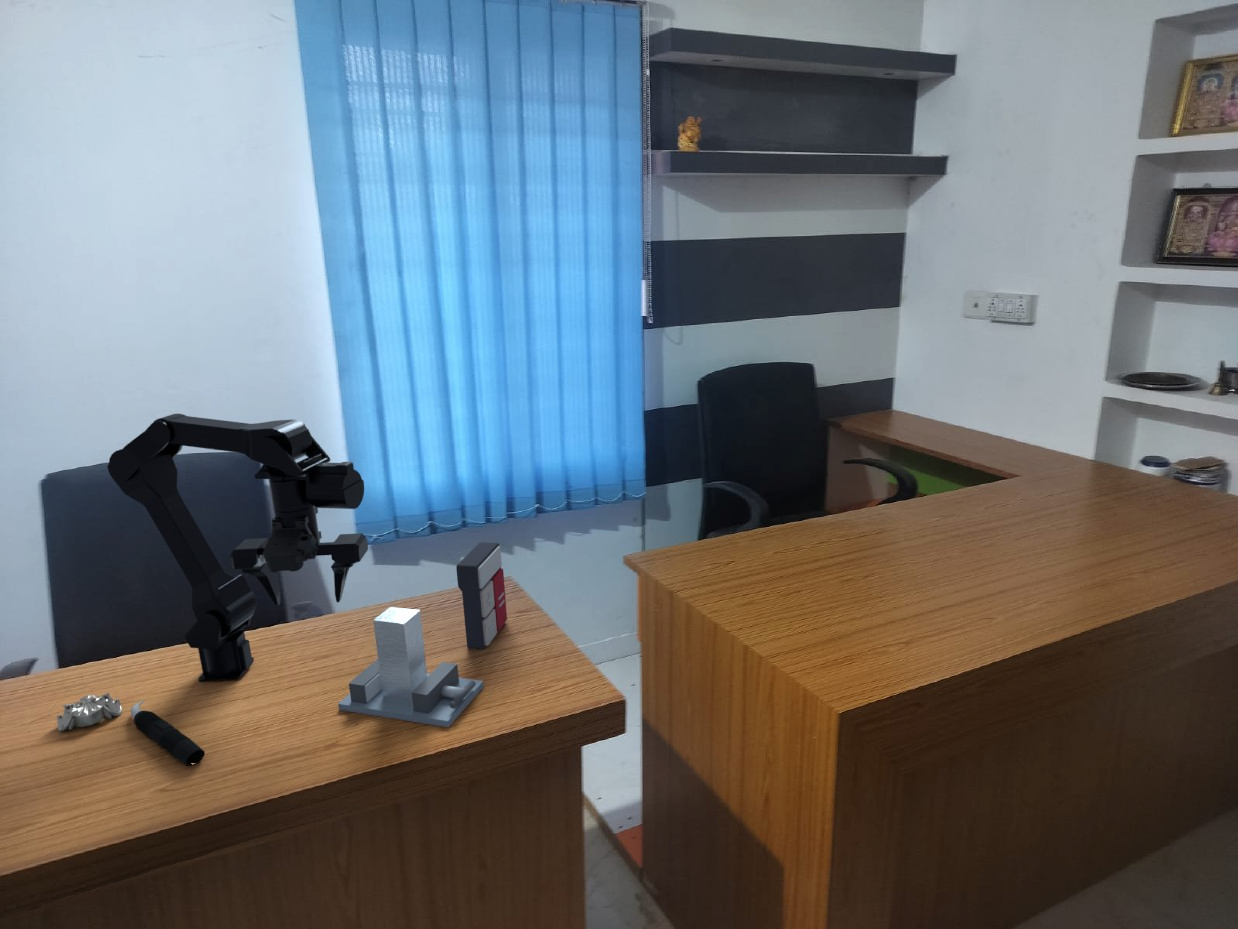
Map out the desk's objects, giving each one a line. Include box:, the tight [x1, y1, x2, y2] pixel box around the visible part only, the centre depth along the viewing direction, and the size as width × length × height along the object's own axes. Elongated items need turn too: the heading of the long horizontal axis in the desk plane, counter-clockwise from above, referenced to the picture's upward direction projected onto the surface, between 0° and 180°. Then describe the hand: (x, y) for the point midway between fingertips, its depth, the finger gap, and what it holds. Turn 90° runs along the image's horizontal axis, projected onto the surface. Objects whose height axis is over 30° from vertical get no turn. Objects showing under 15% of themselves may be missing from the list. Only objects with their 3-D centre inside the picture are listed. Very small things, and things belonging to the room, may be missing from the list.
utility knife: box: [130, 699, 206, 767], centre depth 116 cm, size 22×4×3 cm, turn 52°
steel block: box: [372, 606, 428, 701], centre depth 122 cm, size 4×5×12 cm
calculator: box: [455, 541, 508, 650], centre depth 140 cm, size 11×4×15 cm, turn 168°
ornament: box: [56, 692, 123, 733], centre depth 121 cm, size 8×7×4 cm
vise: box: [337, 658, 485, 728], centre depth 123 cm, size 18×11×4 cm, turn 73°
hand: (308, 603), depth 126 cm, fingers open, 9 cm apart
